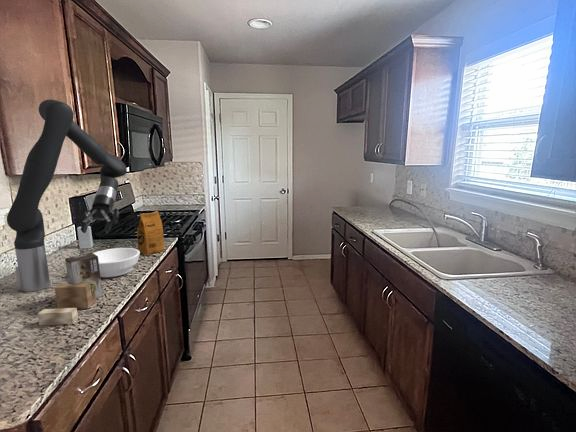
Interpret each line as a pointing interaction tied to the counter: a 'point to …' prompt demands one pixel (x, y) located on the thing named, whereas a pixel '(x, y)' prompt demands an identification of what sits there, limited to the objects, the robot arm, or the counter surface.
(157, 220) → the coffee package
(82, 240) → the skincare box
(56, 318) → the batten
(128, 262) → the bowl
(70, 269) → the coffee box
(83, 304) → the block
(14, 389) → the counter surface
